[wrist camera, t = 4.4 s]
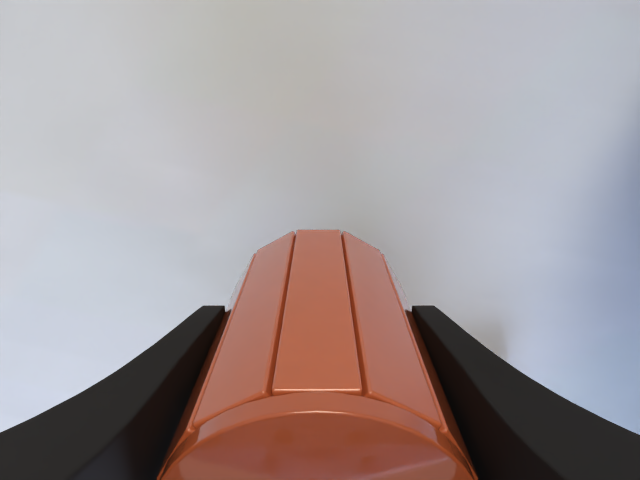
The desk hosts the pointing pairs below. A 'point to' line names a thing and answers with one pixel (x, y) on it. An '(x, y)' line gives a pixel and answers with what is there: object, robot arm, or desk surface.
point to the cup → (317, 376)
